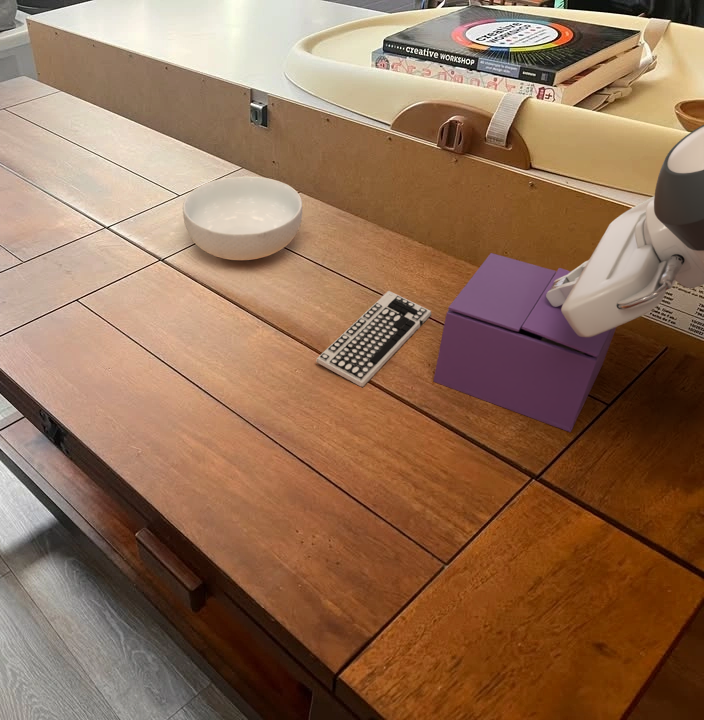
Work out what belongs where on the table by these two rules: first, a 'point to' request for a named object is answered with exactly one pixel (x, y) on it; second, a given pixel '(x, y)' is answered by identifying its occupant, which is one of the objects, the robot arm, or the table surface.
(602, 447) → the table surface
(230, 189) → the cereal bowl
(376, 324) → the keyboard
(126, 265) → the table surface
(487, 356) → the box
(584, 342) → the flap
